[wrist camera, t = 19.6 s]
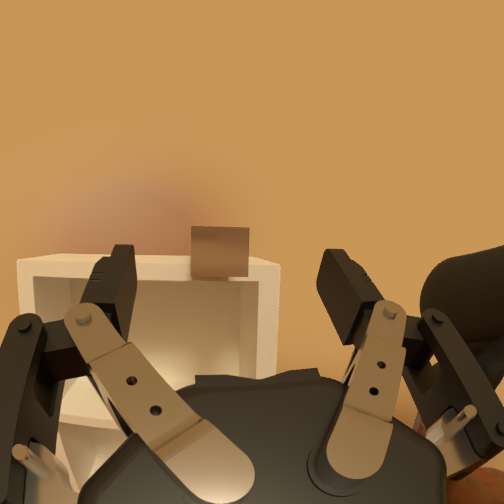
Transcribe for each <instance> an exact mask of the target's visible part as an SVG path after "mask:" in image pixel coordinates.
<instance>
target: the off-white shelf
mask: <svg viewBox="0 0 504 504" xmlns="http://www.w3.org/2000/svg"><path fill="white" fill-rule="evenodd" d="M103 256H105V257H110V256H111V255H101V254H100V255H99V254H55V255H48V256H41V257H34V258H27V259H19V260H17V280H18V293H19V294H18V295H19V306H20V315H22V314H25V313H34V314H36V315H38V316H39V317H40V318H41V320H42V322H43V323H47V322H53V321H58V320H62V319H64V316H65V314H66V312H67V311H68V310H69V309H70V308H71V307H73V306H75V305H77V304H79V303H80V300H81V297H82V295H83V292H84V289H85V287H86V284H87V282H88V281H89V277H90V275H91V274H92V270H93V267H94V265H95V263H96V262H97V261H98V260H100V259H101V258H102V257H103ZM135 262H136V272H137V292H136V297H135V302H134V307H133V312H132V318H131V323H130V329H129V335H128V341H127V343H128V342H132V343H133V344H134V345H135V346H136V347H137V348H138V349H139V351H140V352H141V353H142V354H143V355H144V357H145V358H146V359H147V360H148V361H149V363H150V364H151V365H152V366H153V367H154V368H155V370H156V371H157V372H158V373H159V374H160V375H161V376H162V378H163V379H164V380H165V381H166V382H167V383H168V384H169V385H170V386H171V388H172V389H173V390H174V391H176V390H178V389H181V388H183V387H186V386H188V385H192V384H195V375H221V374H227V375H233V376H239V377H245V378H252V379H264V378H267V377H270V376H274V375H276V362H277V342H278V341H277V340H278V320H279V319H278V318H279V295H280V294H279V293H280V266H281V265H279V264H276V263H273V262H269V261H266V260H263V259H260V258H256V257H249V266H248V277H191V256H158V255H157V256H156V255H154V256H153V255H135ZM126 439H127V438H126V437H125V436H124V434H123V433H122V432H121V430H120V429H119V427H118V426H117V424H116V423H115V421H114V419H113V418H112V416H111V414H110V413H109V411H108V410H107V408H106V407H105V405H104V404H103V402H102V401H101V399H100V398H99V396H98V395H97V393H96V391H95V390H94V388H93V387H92V385H91V383H90V382H89V380H88V378H87V377H86V376H83V377H78V378H73V379H67V380H65V385H64V390H63V396H62V403H61V409H60V417H59V424H58V433H57V442H56V453H55V456H56V457H57V458H58V459H59V460H60V461H61V462H62V463H63V464H64V465H65V467H66V468H67V470H68V473H69V478H70V484H71V486H72V488H73V490H74V491H75V492H77V493H80V490H81V488H82V487H83V485H84V484H85V482H86V481H87V480H88V479H89V478H90V477H91V476H92V475H93V474H94V473H95V472H96V471H97V470H98V469H99V468H100V467H101V465H102V464H103V463H104V462H105V461H106V460H107V459H108V458H109V457H110V456H111V455H112V454H113V453H114V452H115V451H116V450H117V449H118V448H119V447H120V446H121V444H122V443H123V442H124V441H125V440H126Z"/></svg>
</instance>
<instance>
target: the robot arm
mask: <svg viewBox="0 0 504 504" xmlns="http://www.w3.org/2000/svg"><path fill="white" fill-rule="evenodd" d="M316 284H317V285H316V286H317V291H318V293H319V295H320V297H321V300H322V302H323V304H324V306H325V308H326V310H327V312H328V314H329V316H330V318H331V320H332V323H333V325H334V327H335V329H336V331H337V333H338V335H339V338H340V340H341V342H342V344H343V345H351V344H354V346H355V349H354V351H353V352H352V355H351V358H350V360H349V363H348V365H347V368H346V370H345V373H344V376H343V378H342V380H341V382H339V381H336V380H334V379H330V378H326V377H321V376H320V375H319V372H318V369H317V368H310V369H301V370H290V371H287V372H283V373H280V374H277V375H274V376H270V377H267V378H264V379H252V378H245V377H239V376H233V375H227V374H221V375H195V384H192V385H188V386H186V387H183V388H181V389H178V390H176V391H174V390H173V389H172V388H171V386H170V385H169V384H168V383H167V382H166V381H165V380H164V379H163V378H162V376H161V375H160V374H159V373H158V372H157V371H156V370H155V368H154V367H153V366H152V365H151V364H150V363H149V361H148V360H147V359H146V358H145V357H144V355H143V354H142V353H141V352H140V351H139V349H138V348H137V347H136V346H135V345H134V344H133V343H132V342H128V343H127V341H128V335H129V329H130V323H131V318H132V312H133V307H134V302H135V297H136V292H137V272H136V262H135V253H134V246H133V245H117V244H116V245H115V246H114V248H113V251H112V254H111V256H110V257H105V256H103V257H102V258H101V259H100V260H98V261H97V262H96V263H95V265H94V267H93V270H92V274H91V275H90V277H89V281H88V282H87V284H86V287H85V289H84V292H83V295H82V297H81V300H80V303H79V304H77V305H75V306H73V307H71V308H70V309H69V310H68V311H67V312H66V314H65V316H64V319H62V320H58V321H53V322H47V323H43V322H42V320H41V318H40V317H39V316H38V315H36V314H34V313H25V314H22V315H19V316H18V317H16V318H15V319H14V320H13V321H12V322H11V323H10V325H9V327H8V330H7V332H6V334H5V337H4V339H3V342H2V344H1V347H0V504H447V502H448V500H449V498H450V497H451V495H452V493H453V491H454V489H455V487H456V485H457V484H458V482H459V480H461V479H463V478H464V477H466V476H467V475H469V474H470V473H472V472H473V471H475V470H476V469H478V468H479V467H481V466H482V465H483V464H485V463H486V462H488V461H489V460H490V459H492V458H493V457H494V456H496V455H497V454H498V453H500V452H501V451H502V450H504V407H503V405H502V403H501V401H500V400H499V398H498V396H497V394H496V393H495V389H496V388H497V386H498V385H499V383H500V382H501V380H502V378H503V377H504V245H503V246H499V247H496V248H492V249H489V250H484V251H480V252H476V253H472V254H467V255H462V256H457V257H451V258H448V259H446V260H444V261H442V262H441V263H439V264H438V265H437V266H436V267H435V268H434V269H433V270H432V272H431V273H430V274H429V276H428V277H427V279H426V281H425V283H424V285H423V289H422V291H421V296H420V313H421V318H419V317H414V316H408V315H406V312H405V311H404V309H403V308H402V307H401V306H400V305H398V304H396V303H394V302H392V301H388V300H385V299H384V298H383V296H382V295H381V294H380V292H379V291H378V289H377V288H376V286H375V285H374V283H373V282H371V279H370V278H369V276H367V273H366V272H365V271H364V269H363V268H362V267H361V266H360V265H359V264H357V263H356V262H355V261H354V260H351V259H350V258H349V256H348V255H347V253H346V252H345V251H344V250H343V249H326V250H325V251H324V254H323V258H322V261H321V265H320V269H319V273H318V277H317V281H316ZM433 354H434V355H435V357H436V359H437V361H438V362H437V363H436V364H434V365H433V366H432V365H431V363H430V361H429V360H430V359H431V357H432V356H433ZM83 376H86V377H87V378H88V380H89V382H90V383H91V385H92V387H93V388H94V390H95V391H96V393H97V395H98V396H99V398H100V399H101V401H102V402H103V404H104V405H105V407H106V408H107V410H108V411H109V413H110V414H111V416H112V418H113V419H114V421H115V423H116V424H117V426H118V427H119V429H120V430H121V432H122V433H123V434H124V436H125V437H126V438H127V439H126V440H125V441H124V442H123V443H122V444H121V446H120V447H119V448H118V449H117V450H116V451H115V452H114V453H113V454H112V455H111V456H110V457H109V458H108V459H107V460H106V461H105V462H104V463H103V464H102V465H101V467H100V468H99V469H98V470H97V471H96V472H95V473H94V474H93V475H92V476H91V477H90V478H89V479H88V480H87V481H86V482H85V484H84V485H83V487H82V488H81V490H80V493H77V492H75V491H74V490H73V488H72V486H71V484H70V478H69V473H68V470H67V468H66V467H65V465H64V464H63V463H62V462H61V461H60V460H59V459H58V458H57V457H56V456H55V453H56V442H57V433H58V424H59V417H60V409H61V403H62V396H63V390H64V385H65V380H67V379H73V378H78V377H83ZM401 376H403V378H404V380H405V382H406V384H407V387H408V389H409V391H410V393H411V396H412V398H413V400H414V402H415V404H416V407H417V409H418V412H417V416H416V419H415V423H414V426H413V429H411V428H409V427H408V426H406V425H405V424H403V423H402V422H400V421H399V420H397V419H396V418H394V417H393V412H394V408H395V403H396V399H397V395H398V390H399V386H400V381H401Z"/></svg>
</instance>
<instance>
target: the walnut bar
mask: <svg viewBox="0 0 504 504" xmlns="http://www.w3.org/2000/svg"><path fill="white" fill-rule="evenodd" d="M248 266H249V228H241V227H203V226H199V227H198V226H192V227H191V277H248Z"/></svg>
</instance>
